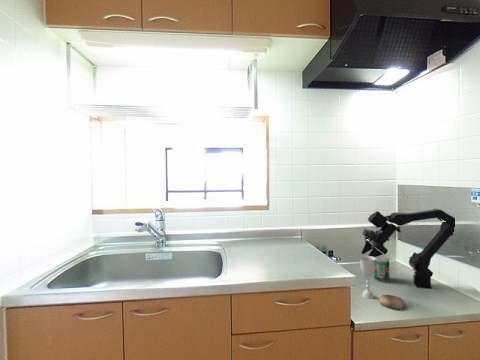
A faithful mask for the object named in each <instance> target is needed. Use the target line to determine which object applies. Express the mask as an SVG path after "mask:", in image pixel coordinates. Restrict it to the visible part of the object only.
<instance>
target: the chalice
mask: <svg viewBox="0 0 480 360" xmlns="http://www.w3.org/2000/svg"><path fill="white" fill-rule="evenodd" d="M358 258H359V263H360V265H359V267H360V270H361V273H362V275H363V277H364V278H366V280H365V283H366V285H365V286H366V289H364V290H363V292H362V294H361V296H362V297H363V298H364V299H371V300H372V299H374V298H375V296H374V294H373V291H371V290H370V287H371V286H370V280H369V279H370V278H372V277H373V272H374V269H375V265H374V261H375V259H376V258H375V257H372V256H368V255H360V256H359V257H358Z"/></svg>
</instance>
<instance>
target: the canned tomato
mask: <svg viewBox="0 0 480 360" xmlns="http://www.w3.org/2000/svg"><path fill="white" fill-rule="evenodd" d="M375 258H376V259H375V261H374V265H375V269H374V272H373V274H372V279H373V280H374V281H376V282H378V283H383V284H384V283H385V284H386V283H390V281H391V280H390V279H391V276H390V274H391V273H390V259H389V258H387V257H382V256H377V257H375Z"/></svg>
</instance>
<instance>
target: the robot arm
mask: <svg viewBox="0 0 480 360" xmlns="http://www.w3.org/2000/svg"><path fill="white" fill-rule="evenodd" d="M455 218H456V217H454V216H452V215H450V214H449V213H447V212H446V211H443V210H442V209H439V208H434V209H430V210H429V209H428V210H421V211H414V212H392V213H390V214H389V215H385V216H384V215H383V214H382V213H381V212H380V211H378V210H376V211H375V212H373V213H372V214H370V215H369V216H368V218H367V222H369V223H370V224H372V225H373V226H375V228H378V229H379V230H375V231H374V230H371V229H366V228H364V229H363V231H362V235H363V236H364V237H363V238H364V246H363V248H362V249H361V252H360V253H361V255H365V254H366V253H368V252H369V253H368V255H367V256H372V257H381V256H384V255H386V254H388V252H389V251H388V248H387V247H385V243H386V242H387V241H388V242H389V241H391V239H390V238H391V236H392V235H394V233H395V232H398V233H401V226H404V225H405V226H406V225H408V224H410V223H412V222H416V221H423V220H429V219H430V220H432V219H437V220H438V221H440V222H441V221H442V220H444V221H446V222H441V224H440V228H439V230H438V232H437V233H436V234H435V235H434V237H433V238H431V240H430V241H429V242H428V243H427V245H426V246H425V247H424V248H423V249H422V250H421V251H420V252H418V253H417V252H413V253H412V255H411V256H410V257H408V258H409V259H408V264H409V266H410V267H411V268H412V270H413V271H414V272H413V273H414V274H412V279H413V280H412V282H413V284H414V285H415V287H416V288H422V289H429V290H431V289H433V287H432V284H431V283H432V279H431V278H432V277H433V275H434V272H433V271H432V270H431V269H430V268H429V267H430V265H431V261H432V258H434V256H435V255H436V253H437V252H438V251H439V250H440V249H441V248H442V247H443V245H444V244H445V243H446V242H447V240H449V238H450V237H452V236H454V235H453V232H454V227H455ZM441 219H442V220H441ZM396 225H397V226H396Z"/></svg>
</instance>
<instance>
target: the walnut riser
mask: <svg viewBox="0 0 480 360" xmlns="http://www.w3.org/2000/svg"><path fill="white" fill-rule="evenodd" d="M379 305H380V306H382V307H384V308H386V309H390V310H395V311H398V310H402V309H404V300H403V299H402V298H401V297H399V296H396V295H392V294H381V295H380V296H379Z"/></svg>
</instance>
